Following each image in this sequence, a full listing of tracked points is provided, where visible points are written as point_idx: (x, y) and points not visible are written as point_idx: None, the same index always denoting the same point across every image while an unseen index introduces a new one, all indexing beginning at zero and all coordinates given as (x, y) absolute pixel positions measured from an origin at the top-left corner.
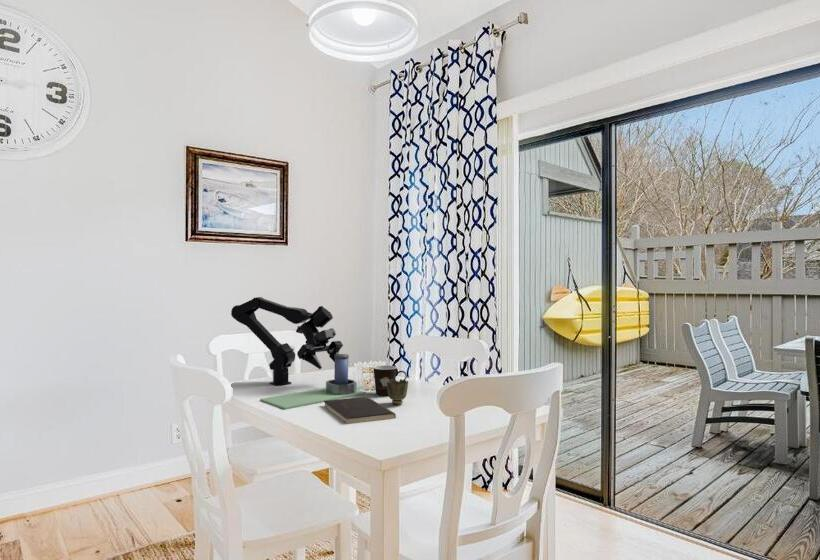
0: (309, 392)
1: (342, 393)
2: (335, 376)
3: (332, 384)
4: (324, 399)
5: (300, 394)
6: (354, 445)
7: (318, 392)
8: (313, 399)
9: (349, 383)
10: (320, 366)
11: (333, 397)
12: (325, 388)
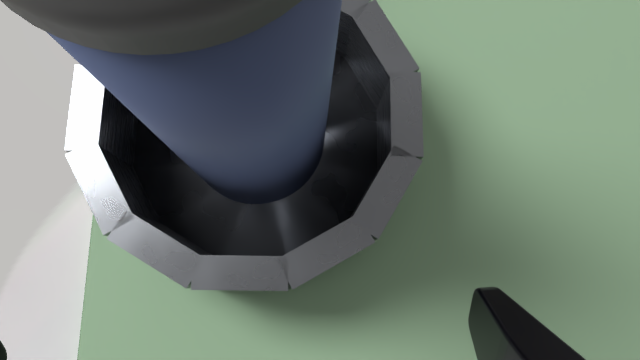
0: None
1: None
2: (330, 90)
3: (409, 67)
4: (552, 1)
5: (633, 294)
6: None
7: (451, 248)
8: (627, 57)
9: (117, 140)
10: (510, 298)
11: (456, 5)
12: (290, 356)
